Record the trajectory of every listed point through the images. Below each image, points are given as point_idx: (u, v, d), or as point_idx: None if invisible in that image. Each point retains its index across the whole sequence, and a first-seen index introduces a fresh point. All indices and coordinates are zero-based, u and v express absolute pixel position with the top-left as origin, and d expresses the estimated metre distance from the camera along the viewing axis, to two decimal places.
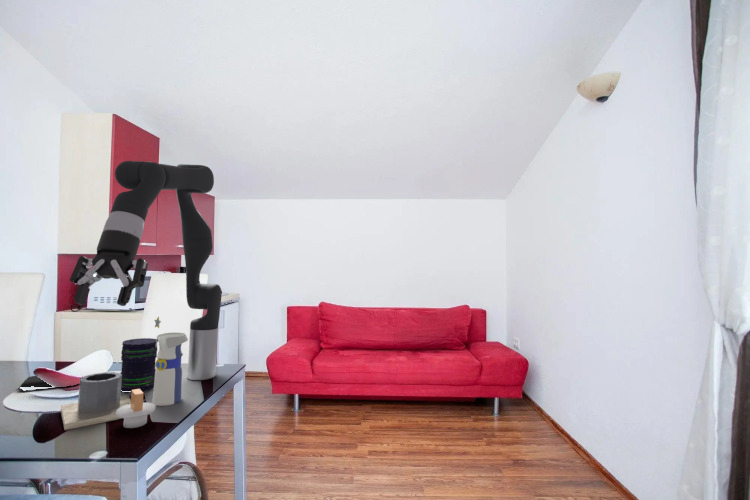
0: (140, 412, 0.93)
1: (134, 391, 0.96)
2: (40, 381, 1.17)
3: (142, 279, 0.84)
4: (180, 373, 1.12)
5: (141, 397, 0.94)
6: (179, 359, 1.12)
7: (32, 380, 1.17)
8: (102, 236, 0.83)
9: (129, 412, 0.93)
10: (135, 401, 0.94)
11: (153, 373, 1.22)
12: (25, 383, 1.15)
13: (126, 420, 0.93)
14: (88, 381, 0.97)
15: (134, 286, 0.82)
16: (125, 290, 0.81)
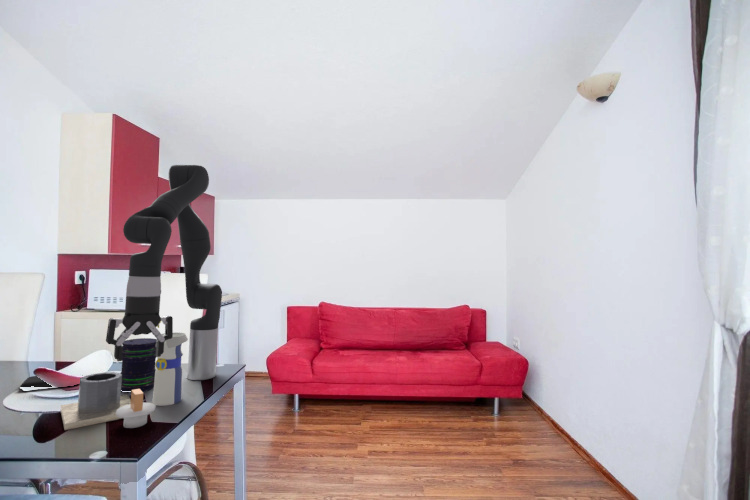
0: (140, 412, 0.93)
1: (134, 391, 0.96)
2: (40, 381, 1.17)
3: None
4: (180, 373, 1.12)
5: (141, 397, 0.94)
6: (179, 359, 1.12)
7: (32, 380, 1.17)
8: (136, 302, 0.93)
9: (129, 412, 0.93)
10: (135, 401, 0.94)
11: (153, 373, 1.22)
12: (25, 383, 1.15)
13: (125, 420, 0.93)
14: (88, 381, 0.97)
15: None
16: (161, 344, 0.99)
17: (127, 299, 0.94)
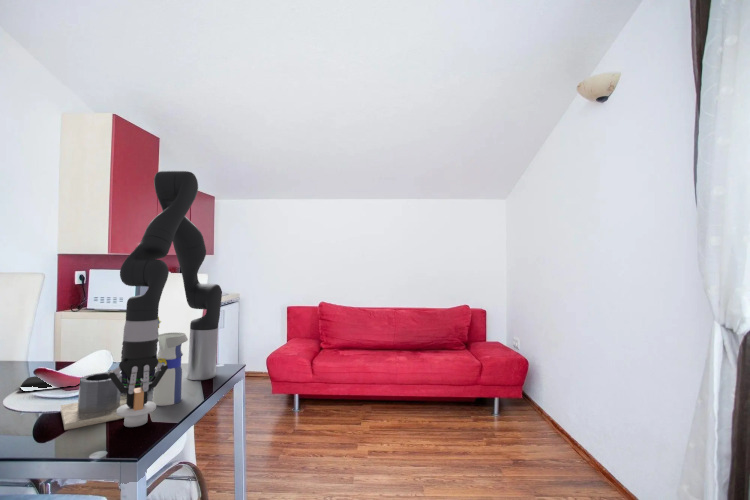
0: (141, 410, 0.93)
1: (135, 390, 0.95)
2: (40, 382, 1.17)
3: None
4: (180, 373, 1.12)
5: (142, 396, 0.94)
6: (179, 359, 1.12)
7: (32, 381, 1.17)
8: (133, 347, 0.93)
9: (130, 411, 0.93)
10: (136, 400, 0.93)
11: (153, 373, 1.22)
12: (25, 384, 1.15)
13: (126, 419, 0.93)
14: (88, 381, 0.97)
15: None
16: (145, 394, 0.96)
17: (124, 344, 0.93)
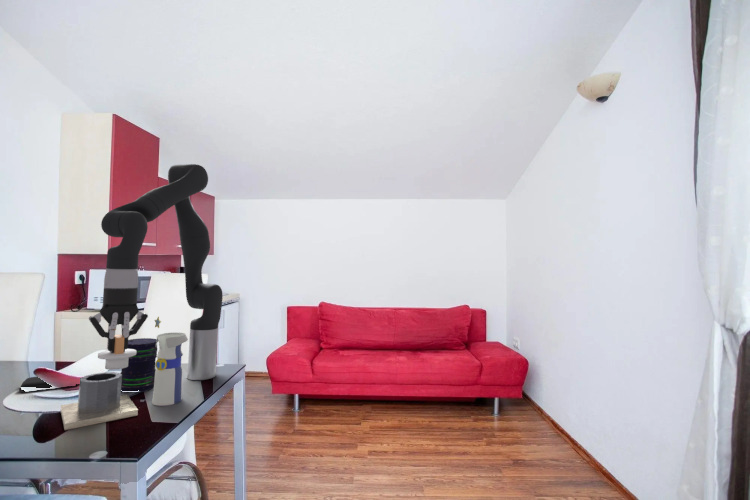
0: (121, 354, 0.98)
1: (115, 336, 1.00)
2: (41, 382, 1.16)
3: None
4: (180, 373, 1.12)
5: (122, 341, 0.98)
6: (179, 359, 1.12)
7: (32, 381, 1.16)
8: (114, 293, 0.97)
9: (110, 354, 0.97)
10: (116, 344, 0.98)
11: (153, 373, 1.22)
12: (25, 384, 1.14)
13: (107, 362, 0.97)
14: (88, 381, 0.97)
15: None
16: (125, 340, 1.01)
17: (105, 291, 0.97)
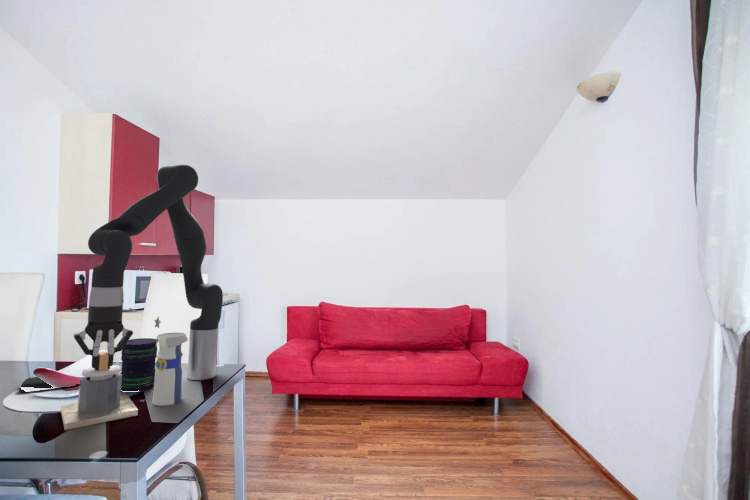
0: (105, 371, 0.99)
1: (100, 353, 1.01)
2: (41, 382, 1.16)
3: None
4: (180, 373, 1.12)
5: (106, 358, 1.00)
6: (179, 359, 1.12)
7: (32, 381, 1.16)
8: (98, 312, 0.98)
9: (94, 372, 0.99)
10: (100, 362, 0.99)
11: (153, 373, 1.22)
12: (26, 384, 1.14)
13: (91, 379, 0.99)
14: (88, 381, 0.97)
15: None
16: (111, 357, 1.02)
17: (89, 309, 0.99)
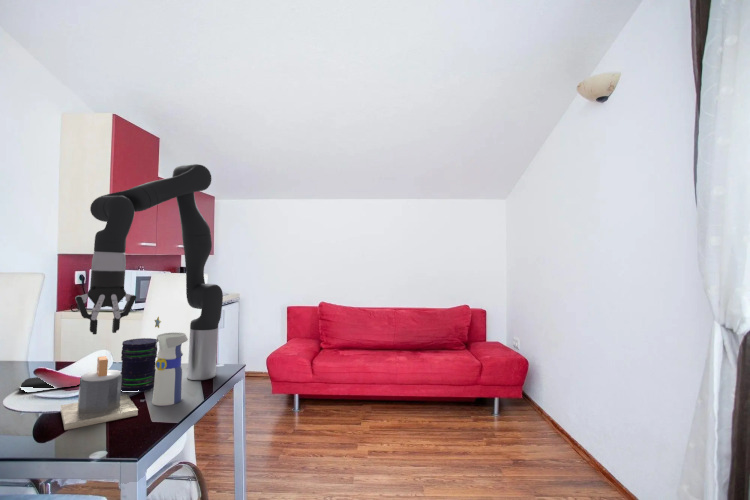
0: (104, 376, 0.99)
1: (100, 358, 1.01)
2: (41, 383, 1.16)
3: None
4: (180, 373, 1.12)
5: (106, 363, 1.00)
6: (179, 359, 1.12)
7: (32, 382, 1.16)
8: (100, 276, 0.99)
9: (94, 376, 0.99)
10: (100, 366, 0.99)
11: (153, 373, 1.22)
12: (26, 385, 1.14)
13: None
14: None
15: None
16: (117, 321, 1.03)
17: (92, 273, 0.99)
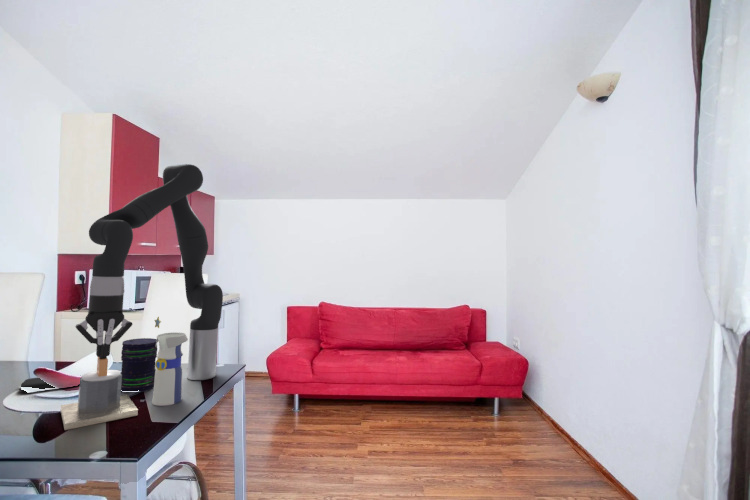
0: (104, 376, 0.99)
1: None
2: (42, 383, 1.16)
3: None
4: (180, 373, 1.12)
5: (106, 363, 1.00)
6: (179, 359, 1.12)
7: (33, 382, 1.15)
8: (99, 301, 0.99)
9: (94, 376, 0.99)
10: (100, 366, 0.99)
11: (153, 373, 1.22)
12: (26, 385, 1.13)
13: None
14: None
15: None
16: (107, 346, 1.02)
17: (90, 298, 0.99)
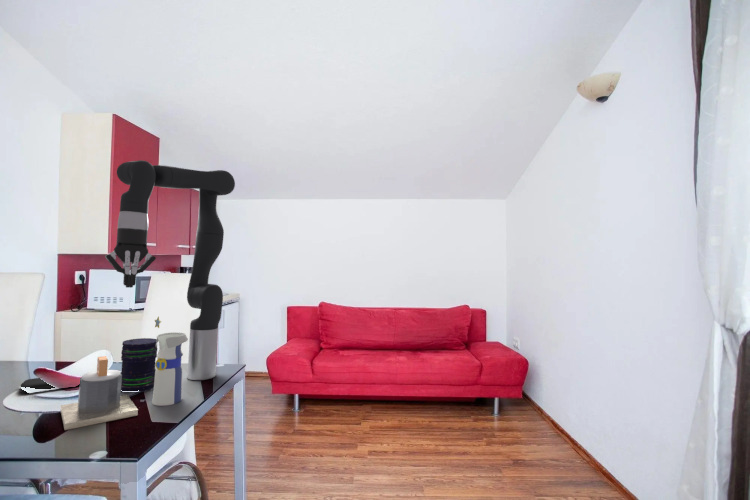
0: (104, 376, 0.99)
1: (100, 358, 1.01)
2: (42, 383, 1.15)
3: None
4: (180, 373, 1.12)
5: (106, 363, 1.00)
6: (179, 359, 1.12)
7: (33, 383, 1.15)
8: (126, 233, 1.08)
9: (94, 376, 0.99)
10: (100, 366, 0.99)
11: (153, 373, 1.22)
12: (27, 386, 1.13)
13: None
14: None
15: None
16: (133, 277, 1.11)
17: (118, 231, 1.08)
